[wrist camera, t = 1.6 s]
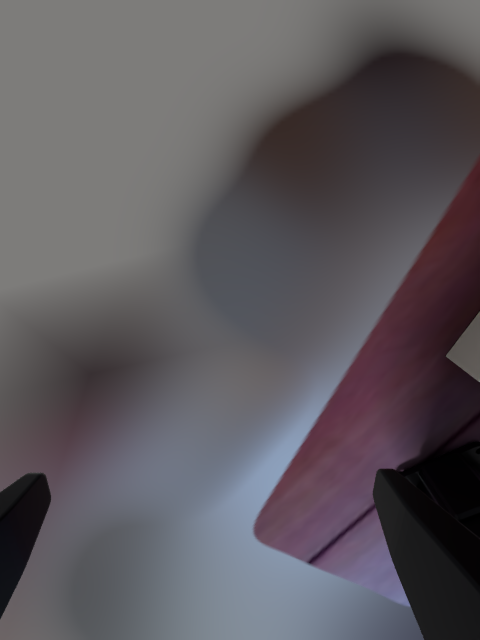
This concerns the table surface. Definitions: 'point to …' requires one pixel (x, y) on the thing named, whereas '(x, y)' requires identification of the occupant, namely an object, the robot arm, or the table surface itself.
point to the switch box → (468, 350)
